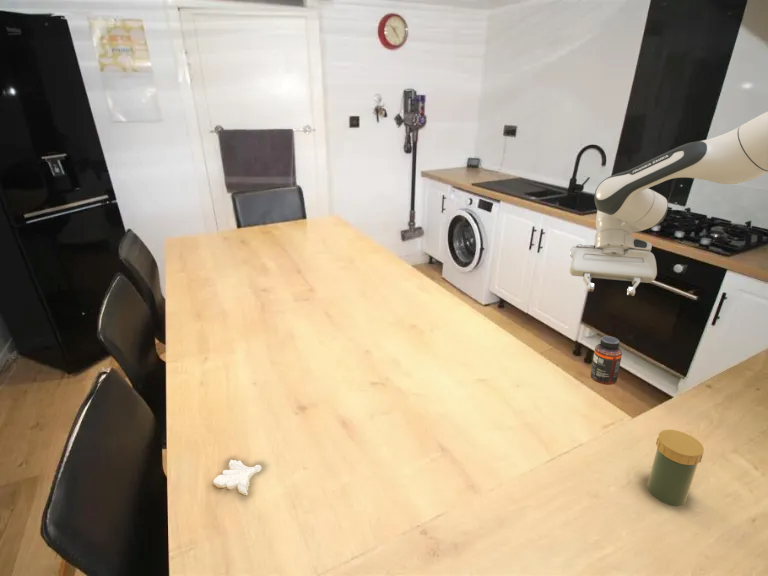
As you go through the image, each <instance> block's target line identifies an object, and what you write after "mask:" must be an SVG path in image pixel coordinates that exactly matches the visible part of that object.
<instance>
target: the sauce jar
mask: <svg viewBox="0 0 768 576" xmlns="http://www.w3.org/2000/svg"><path fill="white" fill-rule="evenodd" d="M698 464H699V463H698ZM698 464H696V465H685V464H680V463H677V462H675V461H672V460H670V459H669V458H667V457H665V456H664V455H663V454H662V453H661V452H660V451H659V450H658V448H657V447H656V451H655V454H654V458H653V461H652V466H651V468H650V473H649V475H648V479H647V484H646V488H647V490H648V492H649V493H650V495H651V496H652V497H653V498H655V499H656V500H658V501H660V502H661V503H663V504H666V505H668V506H673V507H681V506H683V505H685V504H686V502H687V501H688V500H687V499H688V496H689V493H690V490H691V486H692V484H693V481H694V477H695V474H696V471H697V469H698Z"/></svg>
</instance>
